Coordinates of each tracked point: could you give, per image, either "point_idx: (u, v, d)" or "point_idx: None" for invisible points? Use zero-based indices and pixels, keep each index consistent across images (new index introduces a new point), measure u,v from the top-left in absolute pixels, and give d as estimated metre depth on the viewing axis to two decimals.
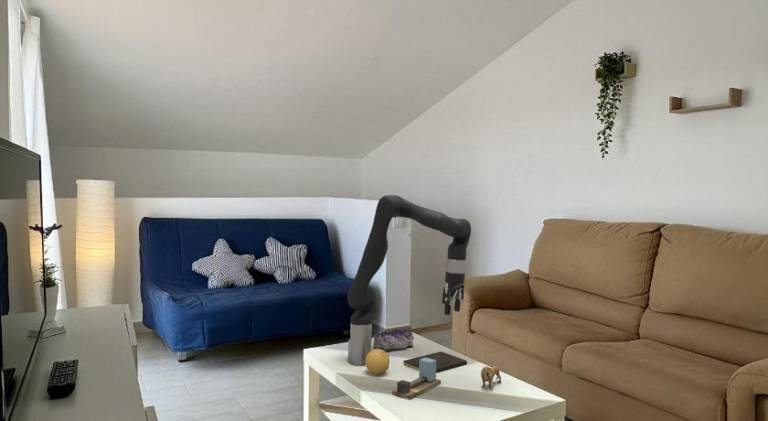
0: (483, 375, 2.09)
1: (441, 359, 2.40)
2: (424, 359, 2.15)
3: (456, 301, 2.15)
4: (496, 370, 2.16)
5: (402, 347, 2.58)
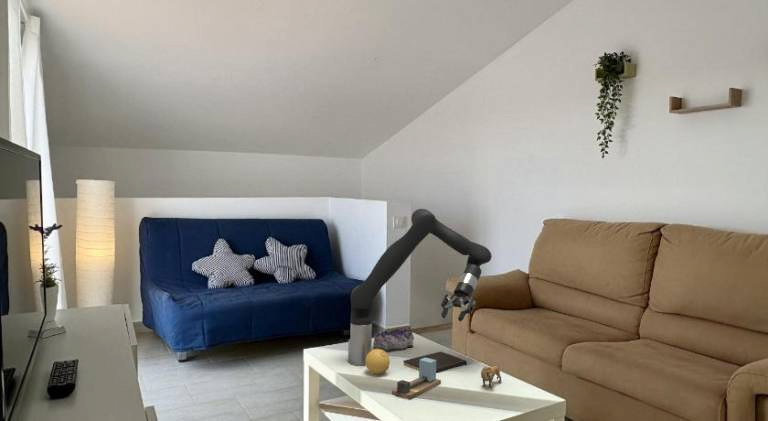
0: (483, 375, 2.09)
1: (440, 359, 2.40)
2: (424, 359, 2.15)
3: (446, 309, 2.31)
4: (497, 370, 2.16)
5: (402, 347, 2.58)
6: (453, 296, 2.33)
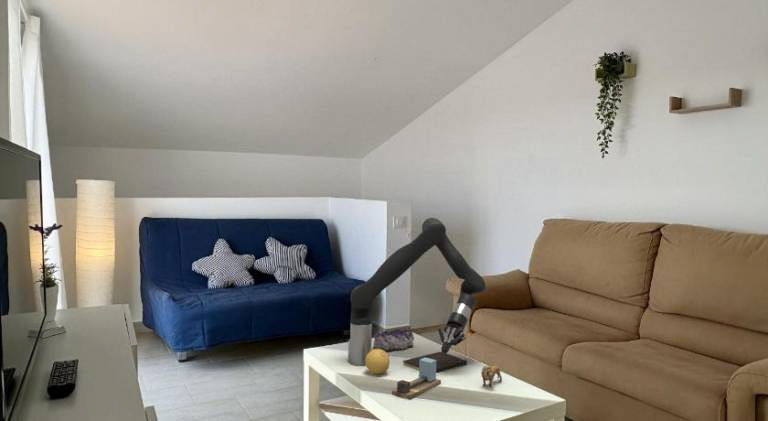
0: (483, 374, 2.10)
1: (440, 359, 2.40)
2: (424, 359, 2.15)
3: (447, 342, 2.26)
4: (497, 369, 2.17)
5: (403, 348, 2.58)
6: (446, 326, 2.31)
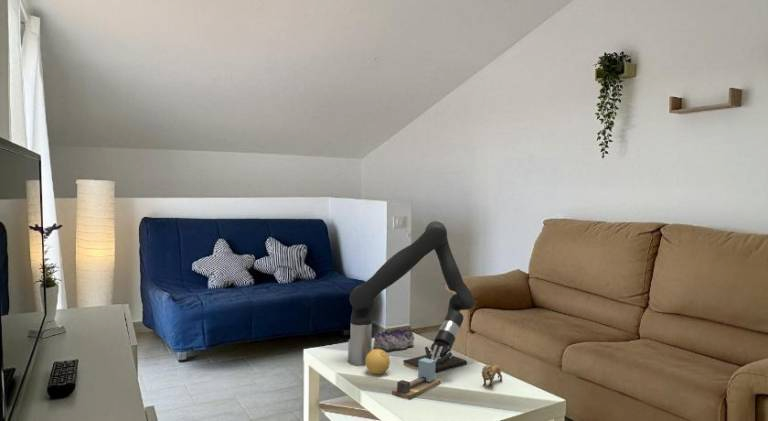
0: (484, 374, 2.10)
1: None
2: (423, 359, 2.14)
3: None
4: (497, 369, 2.17)
5: (403, 347, 2.58)
6: (433, 344, 2.23)
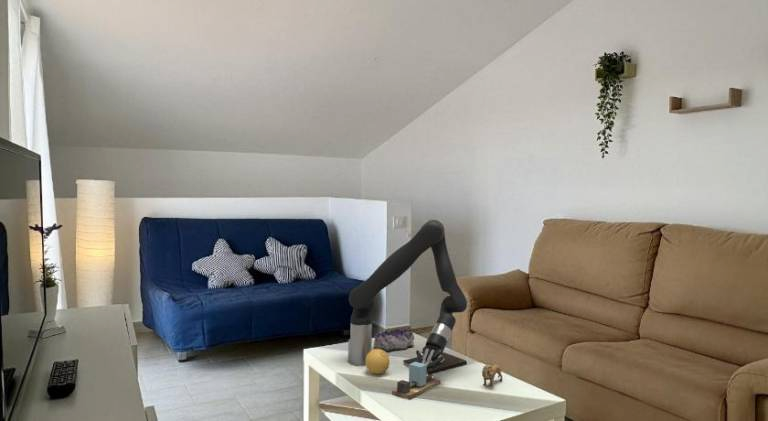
0: (484, 373, 2.11)
1: None
2: (414, 363, 2.09)
3: None
4: (498, 369, 2.17)
5: (403, 347, 2.58)
6: (425, 348, 2.18)
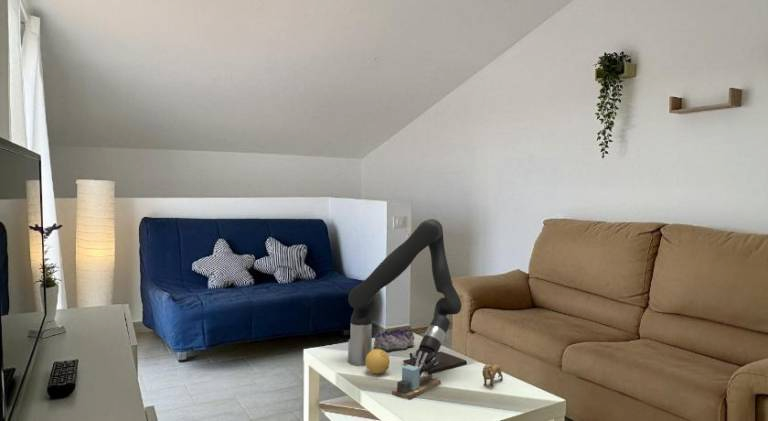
0: (484, 373, 2.11)
1: (440, 359, 2.40)
2: (407, 366, 2.06)
3: None
4: (498, 368, 2.18)
5: (403, 347, 2.58)
6: (418, 351, 2.14)
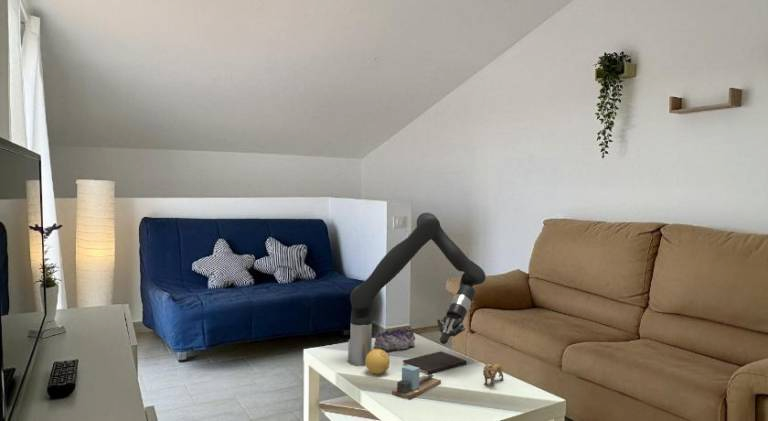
0: (485, 373, 2.12)
1: (440, 359, 2.40)
2: (407, 366, 2.06)
3: None
4: (499, 368, 2.18)
5: (403, 348, 2.57)
6: (446, 317, 2.29)
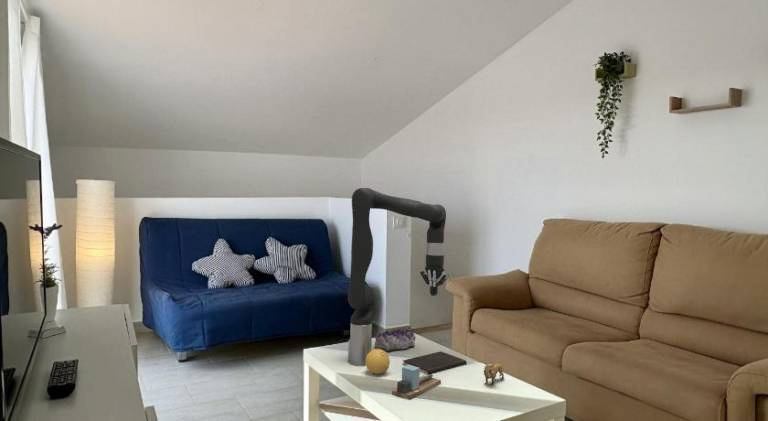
0: (486, 372, 2.12)
1: (440, 359, 2.40)
2: (407, 366, 2.06)
3: None
4: (499, 367, 2.19)
5: (404, 348, 2.57)
6: (426, 268, 2.27)
